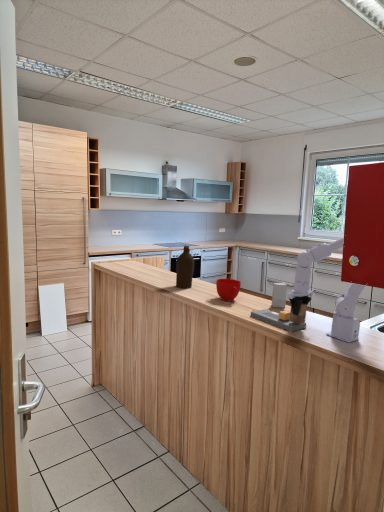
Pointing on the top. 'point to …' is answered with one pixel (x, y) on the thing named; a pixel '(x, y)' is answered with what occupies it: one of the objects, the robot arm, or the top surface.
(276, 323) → the switch board
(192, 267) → the olive oil
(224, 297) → the ceramic cup
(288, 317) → the switch tab
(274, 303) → the skincare box
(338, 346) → the top surface
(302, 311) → the walnut pusher
